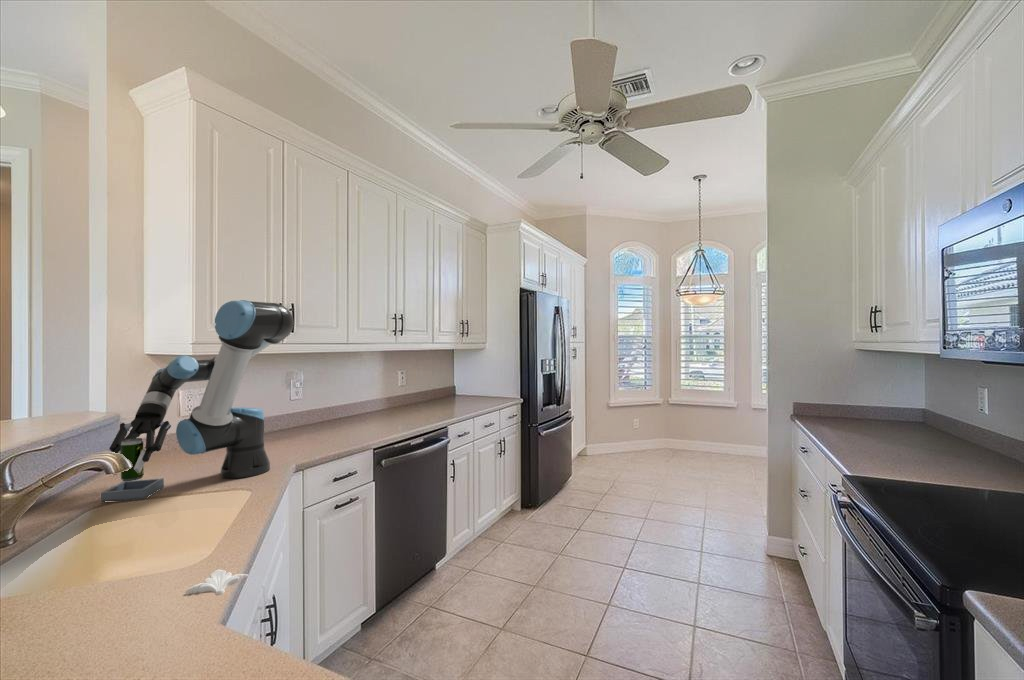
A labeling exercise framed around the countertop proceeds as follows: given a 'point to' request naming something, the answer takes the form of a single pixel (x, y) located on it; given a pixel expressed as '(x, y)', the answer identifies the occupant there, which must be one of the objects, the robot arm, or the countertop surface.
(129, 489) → the tray
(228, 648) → the countertop surface
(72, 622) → the countertop surface
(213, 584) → the acanthus leaf ornament
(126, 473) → the beer can
